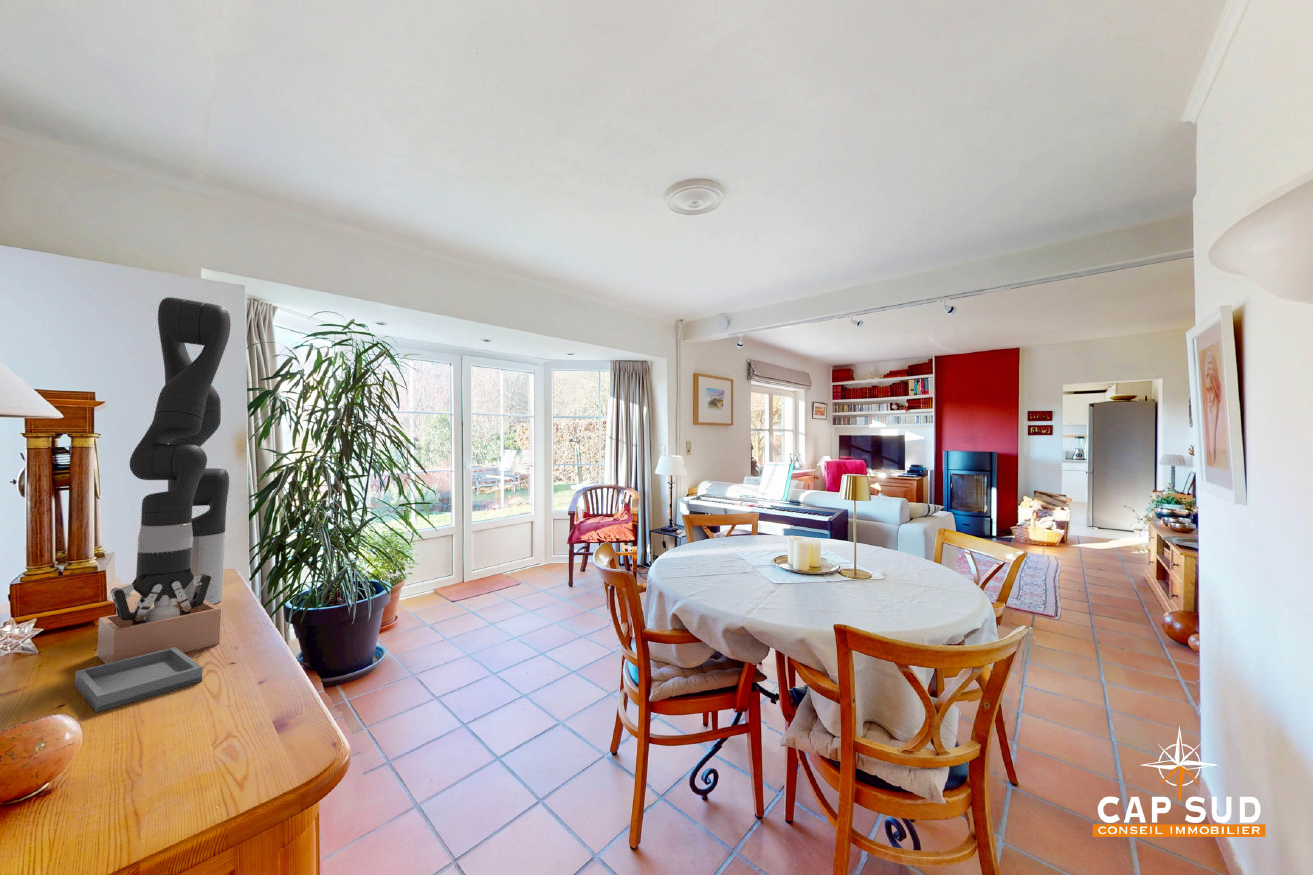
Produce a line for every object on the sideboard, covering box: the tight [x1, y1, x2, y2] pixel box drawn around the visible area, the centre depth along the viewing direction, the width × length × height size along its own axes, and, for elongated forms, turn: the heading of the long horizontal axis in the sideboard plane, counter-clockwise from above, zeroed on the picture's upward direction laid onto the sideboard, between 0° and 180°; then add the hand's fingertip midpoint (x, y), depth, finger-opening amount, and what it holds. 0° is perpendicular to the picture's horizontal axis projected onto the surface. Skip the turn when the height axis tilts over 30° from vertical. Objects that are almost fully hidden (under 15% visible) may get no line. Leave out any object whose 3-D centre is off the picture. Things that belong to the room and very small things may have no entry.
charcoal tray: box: [74, 647, 204, 714], centre depth 82 cm, size 14×12×2 cm
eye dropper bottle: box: [144, 595, 180, 623], centre depth 95 cm, size 4×6×12 cm
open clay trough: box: [96, 600, 222, 664], centre depth 95 cm, size 11×15×7 cm
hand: (161, 634), depth 95 cm, fingers open, 5 cm apart
